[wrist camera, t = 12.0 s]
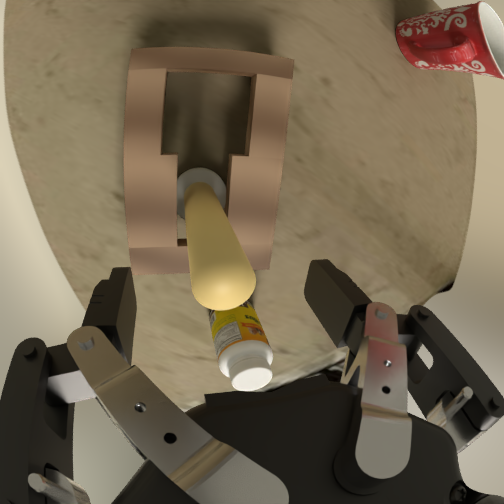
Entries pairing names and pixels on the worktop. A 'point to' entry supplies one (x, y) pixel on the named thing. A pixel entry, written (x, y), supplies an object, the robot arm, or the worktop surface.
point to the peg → (212, 242)
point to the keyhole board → (165, 164)
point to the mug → (455, 40)
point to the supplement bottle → (241, 347)
